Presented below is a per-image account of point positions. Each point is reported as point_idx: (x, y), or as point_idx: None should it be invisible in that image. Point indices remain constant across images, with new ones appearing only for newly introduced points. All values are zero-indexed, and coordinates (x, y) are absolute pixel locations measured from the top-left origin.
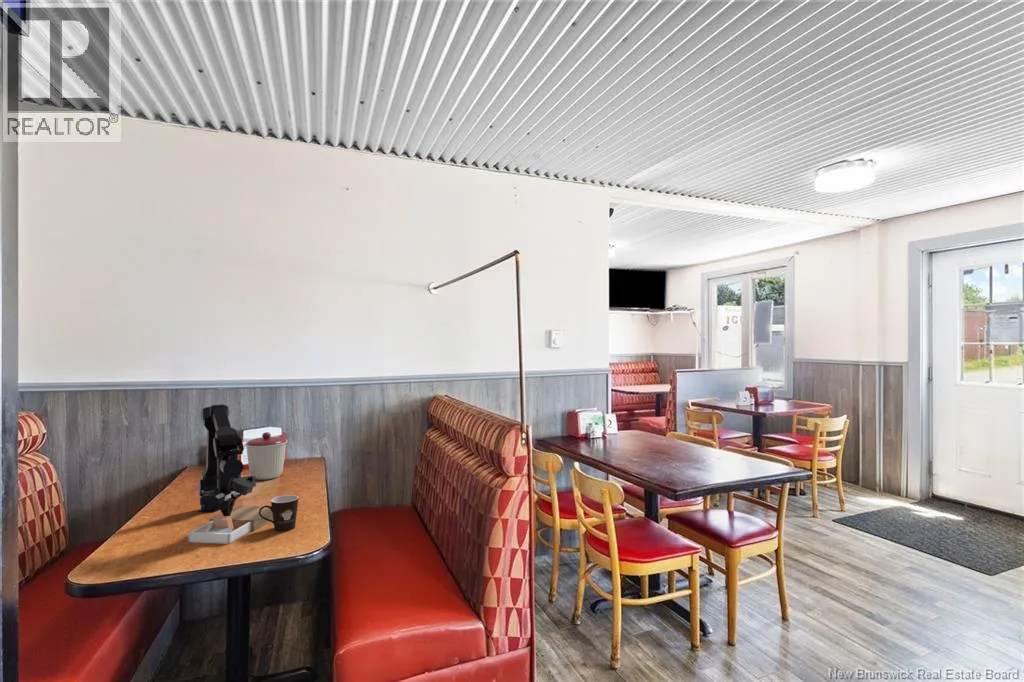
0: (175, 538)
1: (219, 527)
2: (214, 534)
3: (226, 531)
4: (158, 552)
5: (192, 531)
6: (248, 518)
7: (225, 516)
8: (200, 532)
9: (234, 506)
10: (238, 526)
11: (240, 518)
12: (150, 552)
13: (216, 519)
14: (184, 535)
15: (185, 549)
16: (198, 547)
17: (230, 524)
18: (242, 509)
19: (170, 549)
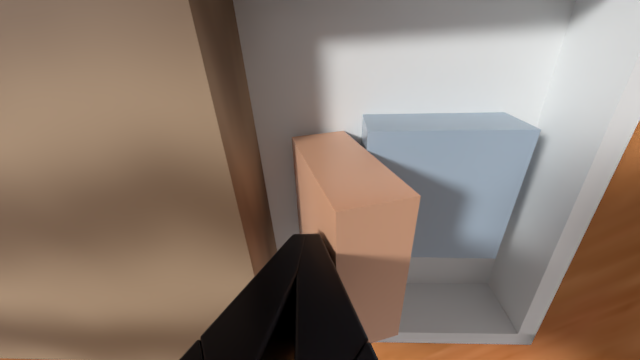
0: (431, 357)
1: None
2: (620, 141)
3: (426, 125)
4: (636, 326)
5: (510, 334)
6: (135, 57)
7: (346, 270)
8: (545, 280)
9: (17, 358)
10: (247, 126)
11: (179, 159)
12: (621, 352)
13: (400, 309)
14: (389, 346)
15: (634, 234)
16: (619, 178)
17: (343, 159)
18: (9, 286)
19: (603, 303)
